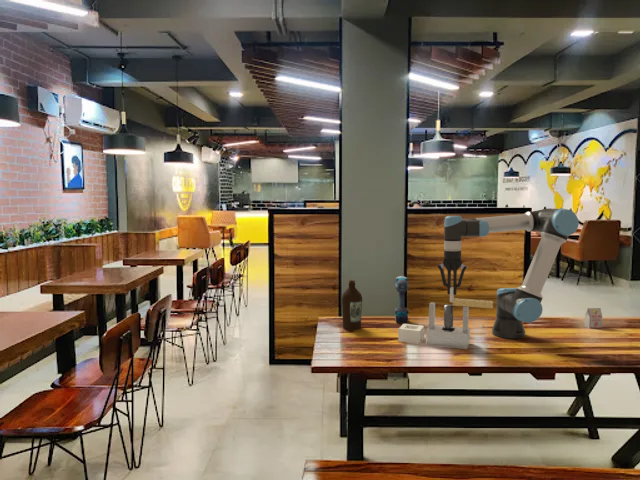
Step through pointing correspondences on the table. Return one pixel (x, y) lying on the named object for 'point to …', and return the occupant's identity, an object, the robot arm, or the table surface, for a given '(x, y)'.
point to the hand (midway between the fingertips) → (451, 301)
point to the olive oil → (351, 307)
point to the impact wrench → (401, 299)
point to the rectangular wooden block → (473, 303)
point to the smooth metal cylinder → (448, 317)
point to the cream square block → (411, 333)
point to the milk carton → (593, 318)
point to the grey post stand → (448, 332)
